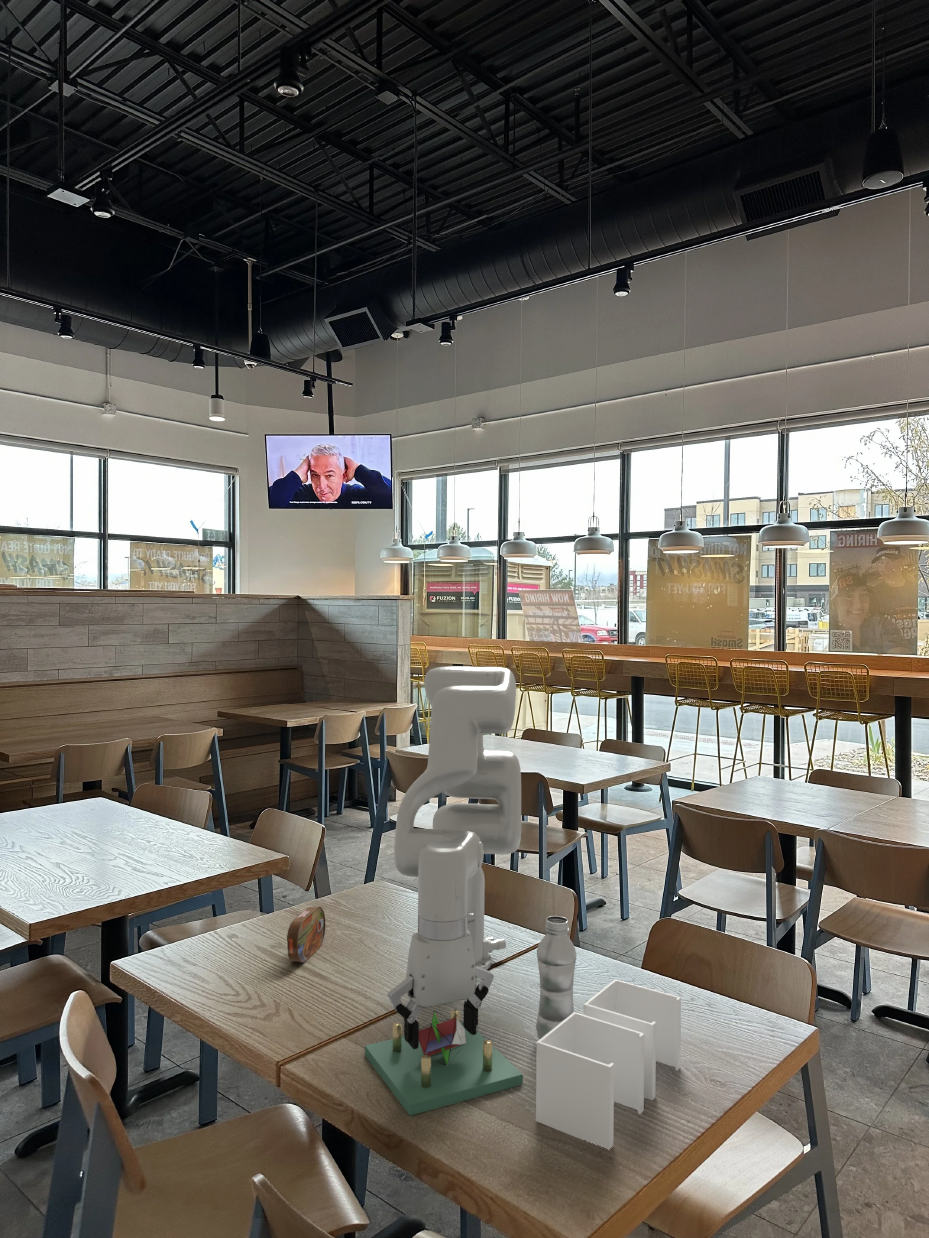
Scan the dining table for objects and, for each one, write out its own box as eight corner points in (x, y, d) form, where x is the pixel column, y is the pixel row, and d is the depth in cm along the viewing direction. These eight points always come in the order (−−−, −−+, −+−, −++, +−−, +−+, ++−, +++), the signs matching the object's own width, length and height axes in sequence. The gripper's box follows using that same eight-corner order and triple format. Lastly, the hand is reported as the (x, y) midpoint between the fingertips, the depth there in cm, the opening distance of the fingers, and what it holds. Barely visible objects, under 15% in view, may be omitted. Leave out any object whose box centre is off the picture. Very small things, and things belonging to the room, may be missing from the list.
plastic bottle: (548, 1057, 132) (549, 929, 132) (528, 1037, 138) (529, 915, 138) (584, 1049, 135) (585, 924, 135) (562, 1030, 141) (563, 910, 141)
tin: (299, 969, 165) (299, 926, 165) (283, 968, 165) (284, 925, 165) (326, 940, 179) (327, 901, 179) (312, 939, 180) (313, 900, 180)
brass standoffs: (457, 1033, 137) (457, 1008, 137) (493, 1070, 126) (494, 1043, 126) (391, 1048, 131) (391, 1023, 131) (423, 1088, 120) (423, 1060, 120)
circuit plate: (467, 1030, 141) (467, 1021, 141) (522, 1084, 125) (522, 1074, 125) (364, 1054, 133) (364, 1045, 133) (409, 1115, 116) (409, 1104, 116)
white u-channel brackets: (614, 1047, 136) (615, 979, 136) (680, 1068, 130) (680, 997, 130) (535, 1122, 116) (536, 1041, 116) (609, 1152, 109) (610, 1067, 109)
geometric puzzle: (403, 1054, 126) (435, 1012, 125) (409, 1031, 133) (439, 992, 132) (441, 1085, 125) (474, 1043, 125) (445, 1060, 132) (476, 1021, 132)
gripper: (481, 909, 136) (480, 1015, 136) (380, 926, 128) (379, 1039, 128) (504, 924, 129) (503, 1036, 129) (399, 943, 121) (398, 1062, 121)
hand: (441, 1037), depth 129 cm, fingers open, 9 cm apart
